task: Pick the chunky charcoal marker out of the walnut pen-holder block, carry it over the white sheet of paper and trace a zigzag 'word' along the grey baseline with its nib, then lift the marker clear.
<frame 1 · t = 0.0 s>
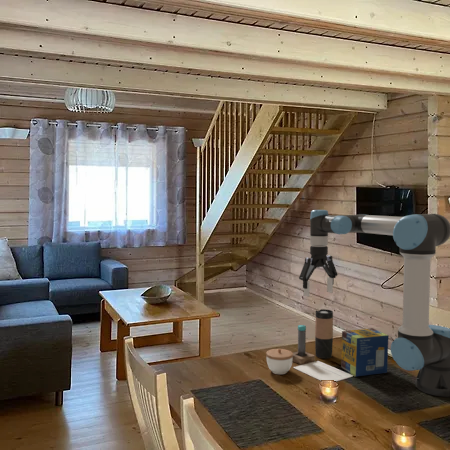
hand: (318, 294, 213), 28 cm above the table, fingers open, 13 cm apart
travel mug: (323, 356, 217), on the table
lidded jar: (279, 372, 198), on the table
pen holder: (301, 360, 211), on the table
protein box: (363, 370, 199), on the table, touching paper
marker: (301, 343, 210), in the pen holder
paper: (322, 372, 197), on the table
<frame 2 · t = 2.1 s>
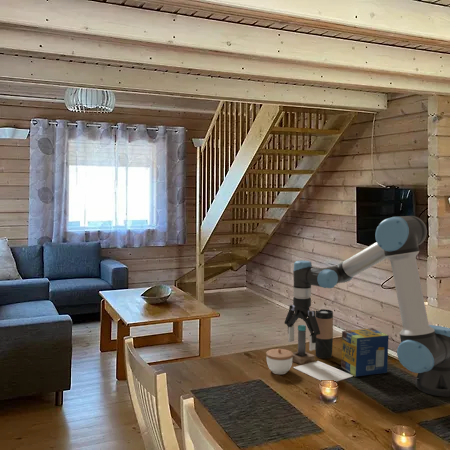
hand: (301, 345, 211), 6 cm above the table, fingers open, 13 cm apart
nothing on the table moved.
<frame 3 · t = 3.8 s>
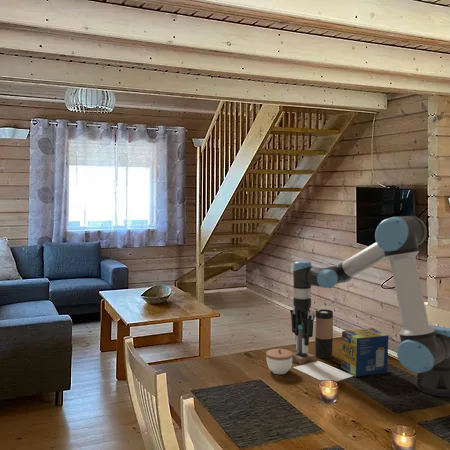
hand: (302, 351, 210), 4 cm above the table, fingers closed on marker, 3 cm apart
marker: (302, 342, 210), in the pen holder, point 8 cm above the table, touching gripper
everything else where it was.
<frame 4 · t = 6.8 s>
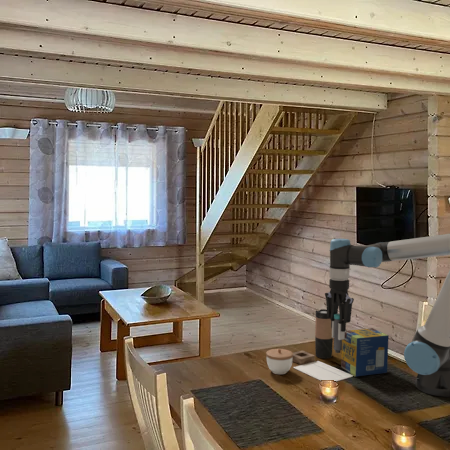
hand: (338, 338, 191), 16 cm above the table, fingers closed on marker, 3 cm apart
marker: (338, 333, 191), point 17 cm above the table, touching gripper
everything else where it was.
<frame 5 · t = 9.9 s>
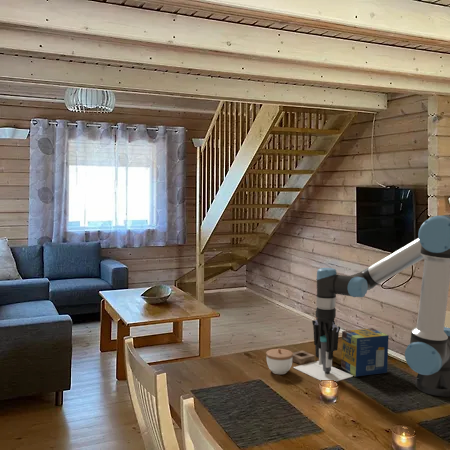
hand: (325, 365, 195), 4 cm above the table, fingers closed on marker, 3 cm apart
marker: (325, 354, 194), on the table, tilted 7°, touching gripper
everything else where it was.
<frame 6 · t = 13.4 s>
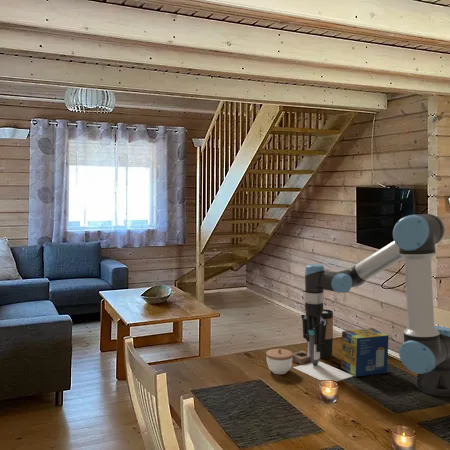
hand: (313, 357, 204), 4 cm above the table, fingers closed on marker, 3 cm apart
marker: (314, 347, 203), on the table, tilted 6°, touching gripper
everything else where it was.
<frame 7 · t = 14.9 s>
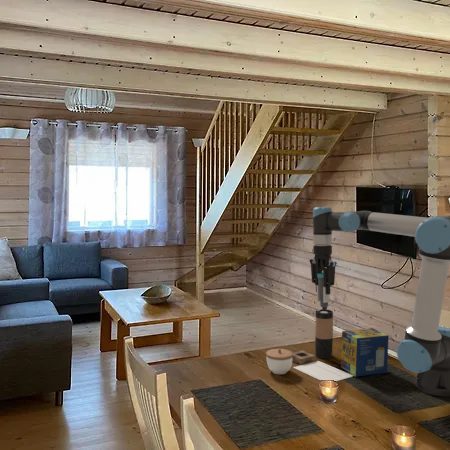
hand: (323, 301, 202), 27 cm above the table, fingers closed on marker, 3 cm apart
marker: (323, 291, 202), point 32 cm above the table, tilted 7°, touching gripper
everything else where it was.
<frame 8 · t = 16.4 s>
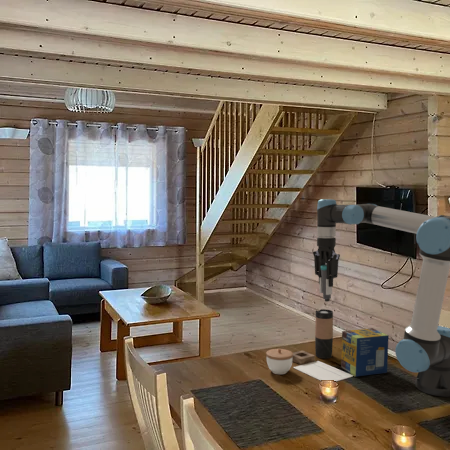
hand: (325, 293, 202), 31 cm above the table, fingers closed on marker, 3 cm apart
marker: (326, 283, 202), point 35 cm above the table, tilted 6°, touching gripper
everything else where it was.
at the end: the gripper is holding marker; marker moved 29.5 cm from its start; marker tilted 6° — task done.
